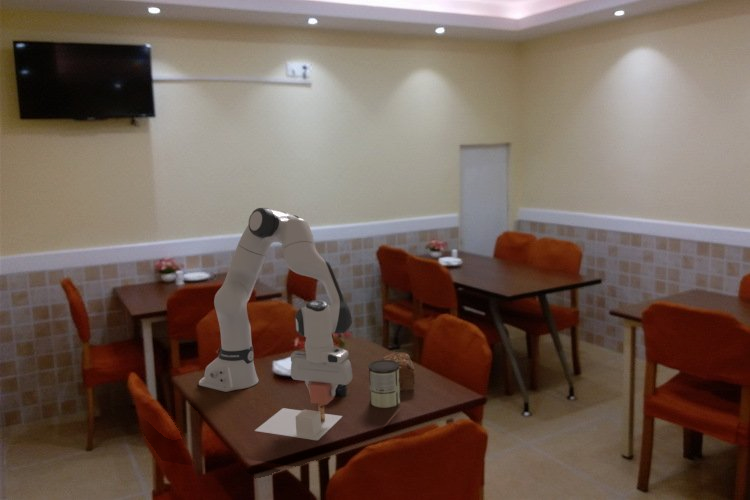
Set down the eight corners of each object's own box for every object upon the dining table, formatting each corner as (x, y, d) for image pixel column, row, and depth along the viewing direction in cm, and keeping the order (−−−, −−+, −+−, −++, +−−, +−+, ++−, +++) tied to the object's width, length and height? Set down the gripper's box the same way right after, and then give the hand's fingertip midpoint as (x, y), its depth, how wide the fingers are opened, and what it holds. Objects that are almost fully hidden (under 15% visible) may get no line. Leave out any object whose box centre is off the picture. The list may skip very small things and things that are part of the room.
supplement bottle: (345, 399, 227) (343, 366, 225) (326, 398, 229) (324, 365, 227) (349, 391, 234) (348, 359, 232) (331, 390, 235) (329, 359, 233)
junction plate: (254, 433, 203) (254, 430, 203) (283, 410, 219) (283, 408, 219) (317, 443, 195) (317, 440, 195) (342, 419, 211) (342, 416, 211)
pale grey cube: (296, 435, 199) (295, 416, 198) (305, 427, 204) (304, 409, 203) (313, 437, 196) (312, 418, 195) (321, 429, 202) (320, 411, 201)
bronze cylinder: (317, 421, 208) (316, 406, 207) (320, 418, 210) (319, 404, 209) (323, 422, 207) (322, 407, 206) (326, 419, 209) (325, 404, 208)
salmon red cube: (310, 402, 206) (309, 384, 205) (318, 396, 211) (317, 378, 210) (326, 404, 204) (325, 386, 203) (334, 397, 209) (333, 380, 208)
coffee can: (365, 401, 225) (364, 362, 222) (393, 396, 228) (392, 357, 226) (376, 412, 215) (375, 372, 213) (405, 407, 219) (404, 367, 216)
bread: (415, 391, 232) (414, 364, 231) (385, 393, 232) (384, 366, 230) (409, 373, 251) (409, 348, 249) (382, 374, 250) (381, 349, 249)
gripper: (285, 353, 206) (288, 395, 208) (345, 358, 198) (347, 401, 201) (295, 347, 211) (297, 387, 214) (353, 352, 204) (355, 393, 206)
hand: (322, 394), depth 207 cm, fingers closed on salmon red cube, 6 cm apart
